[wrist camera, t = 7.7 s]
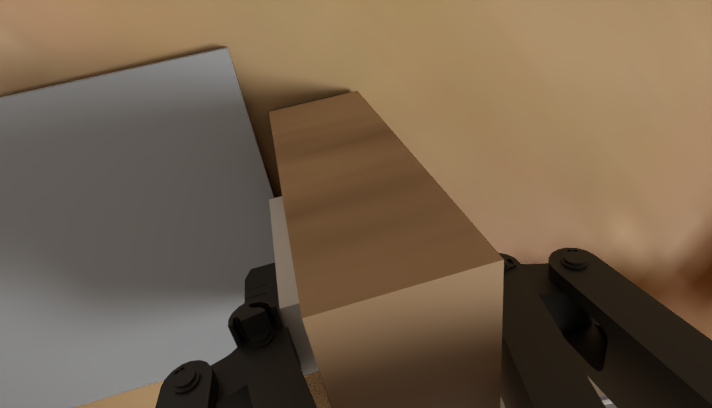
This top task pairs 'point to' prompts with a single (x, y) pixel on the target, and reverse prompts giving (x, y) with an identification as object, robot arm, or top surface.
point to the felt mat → (125, 228)
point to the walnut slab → (385, 265)
